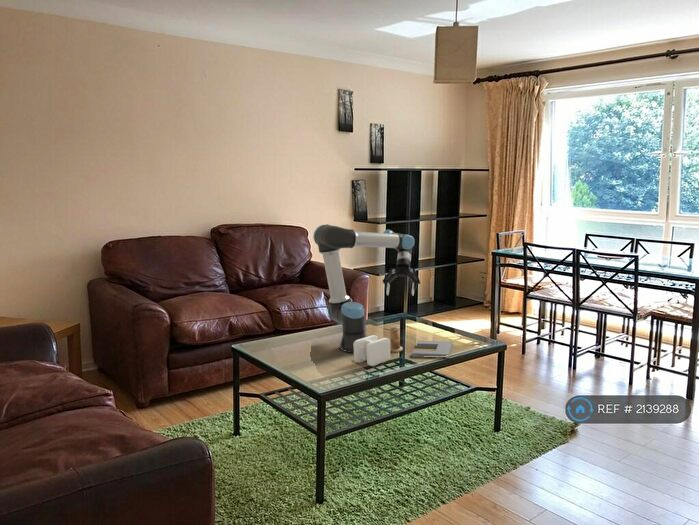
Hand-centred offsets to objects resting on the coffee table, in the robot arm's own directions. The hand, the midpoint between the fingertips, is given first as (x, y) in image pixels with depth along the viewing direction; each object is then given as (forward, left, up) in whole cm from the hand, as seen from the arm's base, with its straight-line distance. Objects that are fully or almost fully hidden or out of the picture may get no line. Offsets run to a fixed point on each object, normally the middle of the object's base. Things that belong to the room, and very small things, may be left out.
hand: (399, 294), depth 306 cm
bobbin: (0, -16, -25) cm, 30 cm away
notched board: (+19, -16, -25) cm, 36 cm away
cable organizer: (-8, -35, -26) cm, 45 cm away
